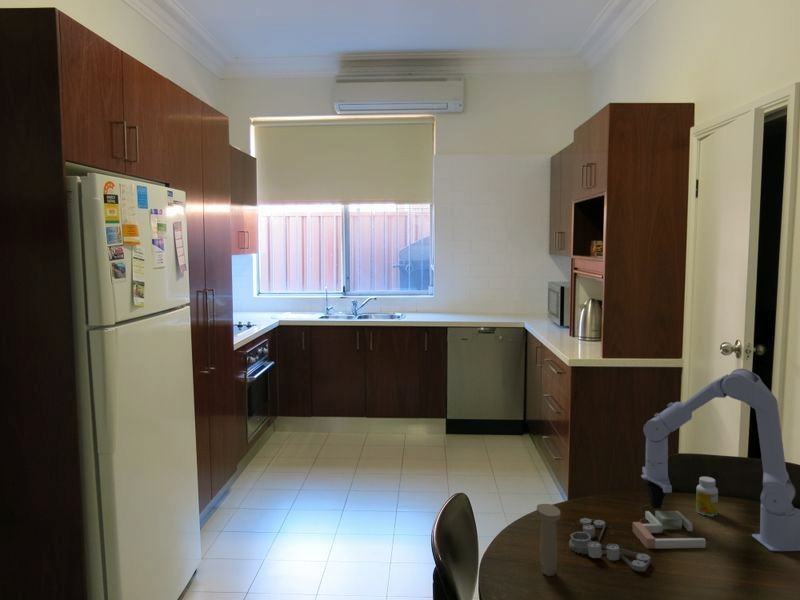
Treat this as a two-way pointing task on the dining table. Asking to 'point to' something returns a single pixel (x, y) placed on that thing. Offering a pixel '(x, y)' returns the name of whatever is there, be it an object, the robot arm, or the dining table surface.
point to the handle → (548, 537)
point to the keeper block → (669, 519)
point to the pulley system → (603, 546)
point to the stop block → (643, 535)
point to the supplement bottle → (707, 497)
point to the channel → (673, 542)
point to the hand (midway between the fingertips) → (656, 507)
